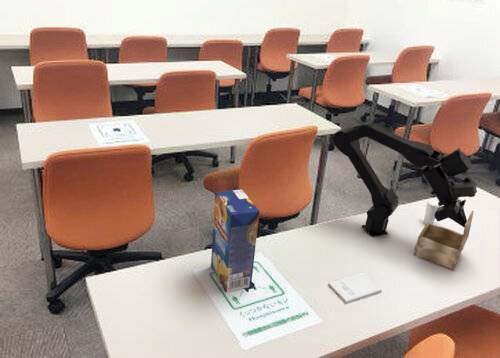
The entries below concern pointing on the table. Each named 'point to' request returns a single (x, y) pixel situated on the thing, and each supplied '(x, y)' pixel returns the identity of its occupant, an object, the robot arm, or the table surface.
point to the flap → (466, 231)
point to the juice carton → (234, 239)
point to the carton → (439, 245)
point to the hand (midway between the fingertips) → (466, 226)
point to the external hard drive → (354, 287)
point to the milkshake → (430, 211)
